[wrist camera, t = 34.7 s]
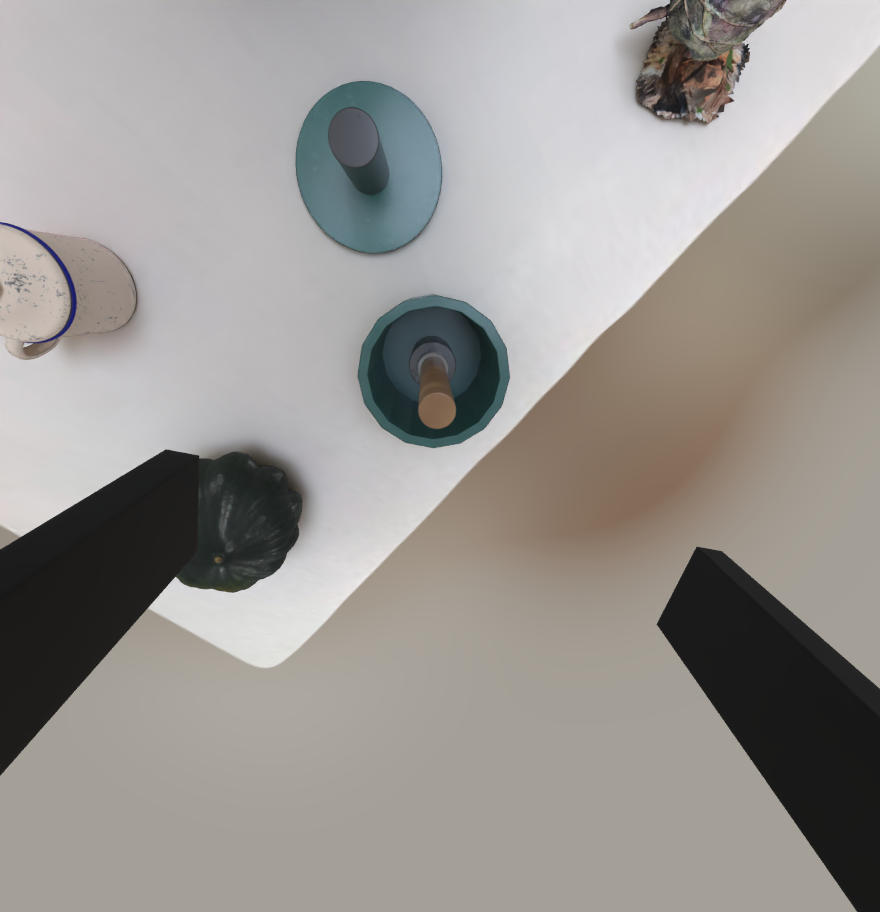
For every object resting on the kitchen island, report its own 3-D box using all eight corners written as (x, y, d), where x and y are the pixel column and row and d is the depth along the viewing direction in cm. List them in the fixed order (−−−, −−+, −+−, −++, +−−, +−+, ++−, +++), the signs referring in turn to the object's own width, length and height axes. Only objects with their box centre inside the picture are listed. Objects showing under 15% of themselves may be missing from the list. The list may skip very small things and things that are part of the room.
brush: (407, 372, 45) (393, 438, 25) (415, 331, 44) (407, 365, 23) (447, 381, 46) (465, 453, 25) (456, 340, 44) (483, 382, 24)
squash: (128, 549, 46) (163, 646, 37) (146, 425, 42) (190, 502, 33) (256, 532, 57) (307, 606, 48) (280, 433, 53) (342, 492, 44)
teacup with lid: (59, 214, 39) (-81, 184, 28) (154, 273, 41) (58, 267, 31) (24, 324, 43) (-113, 335, 32) (113, 374, 45) (13, 400, 34)
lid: (292, 235, 41) (252, 218, 31) (306, 67, 36) (264, -13, 27) (425, 267, 42) (425, 260, 33) (455, 110, 37) (466, 48, 28)
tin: (368, 396, 47) (348, 431, 35) (386, 283, 42) (371, 279, 31) (472, 418, 48) (487, 458, 36) (499, 310, 44) (527, 316, 32)
